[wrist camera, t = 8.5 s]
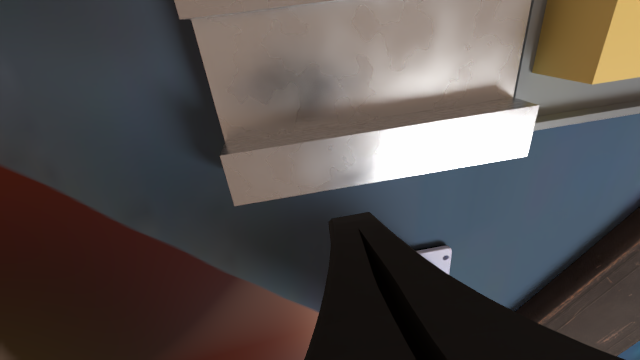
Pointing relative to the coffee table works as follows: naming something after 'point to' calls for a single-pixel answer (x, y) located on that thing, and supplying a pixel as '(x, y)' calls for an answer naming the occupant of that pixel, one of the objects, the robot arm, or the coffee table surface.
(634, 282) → the hardcover book
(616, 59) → the mustard cube
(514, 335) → the robot arm
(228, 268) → the coffee table surface
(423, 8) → the channel
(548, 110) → the tray
